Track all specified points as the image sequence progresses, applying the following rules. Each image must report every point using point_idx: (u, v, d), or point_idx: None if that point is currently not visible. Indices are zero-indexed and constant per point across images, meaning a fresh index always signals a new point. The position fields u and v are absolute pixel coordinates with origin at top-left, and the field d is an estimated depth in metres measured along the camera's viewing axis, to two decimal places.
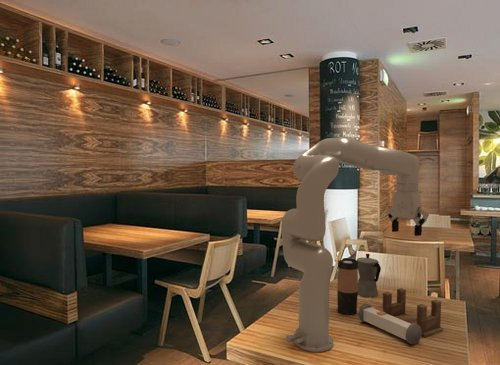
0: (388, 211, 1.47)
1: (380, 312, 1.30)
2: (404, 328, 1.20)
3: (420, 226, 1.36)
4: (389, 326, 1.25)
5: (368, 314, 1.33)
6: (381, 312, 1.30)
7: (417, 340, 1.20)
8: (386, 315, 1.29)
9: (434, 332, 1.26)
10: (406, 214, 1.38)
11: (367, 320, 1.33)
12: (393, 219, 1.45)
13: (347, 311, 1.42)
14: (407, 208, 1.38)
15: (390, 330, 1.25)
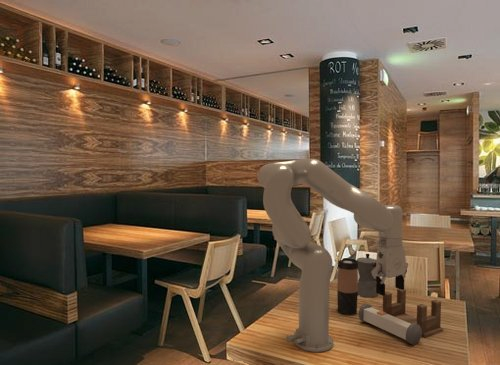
0: (376, 273, 1.23)
1: (380, 312, 1.30)
2: (404, 328, 1.20)
3: None
4: (389, 326, 1.25)
5: (368, 314, 1.33)
6: (381, 312, 1.30)
7: (417, 340, 1.20)
8: (386, 315, 1.29)
9: (434, 332, 1.26)
10: (401, 270, 1.26)
11: (367, 320, 1.33)
12: None
13: (347, 311, 1.42)
14: (401, 263, 1.26)
15: (390, 330, 1.25)
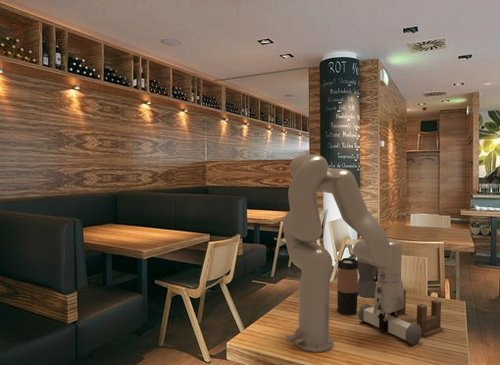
0: (378, 313, 1.24)
1: None
2: (404, 328, 1.20)
3: None
4: (389, 326, 1.25)
5: (368, 314, 1.33)
6: None
7: (417, 340, 1.20)
8: None
9: (434, 332, 1.26)
10: (399, 305, 1.26)
11: (367, 320, 1.33)
12: (386, 317, 1.25)
13: (347, 311, 1.42)
14: (400, 298, 1.26)
15: (390, 330, 1.25)
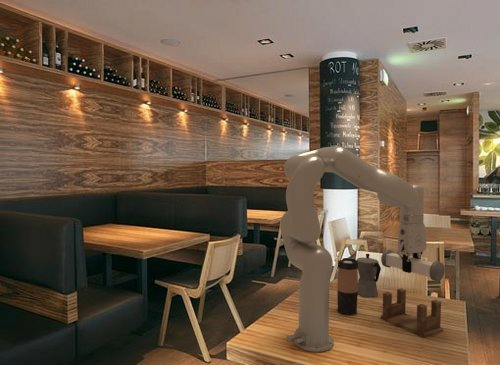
0: (401, 253, 1.29)
1: None
2: (428, 266, 1.25)
3: None
4: (412, 266, 1.30)
5: (390, 258, 1.38)
6: None
7: (440, 277, 1.24)
8: None
9: (434, 332, 1.26)
10: (422, 247, 1.31)
11: (390, 264, 1.38)
12: (409, 258, 1.30)
13: (347, 311, 1.42)
14: (422, 240, 1.31)
15: (413, 270, 1.30)
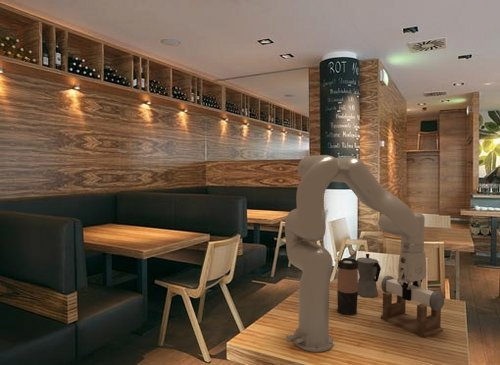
0: (402, 281, 1.30)
1: None
2: (428, 295, 1.26)
3: None
4: (412, 294, 1.31)
5: (391, 285, 1.38)
6: None
7: (440, 306, 1.25)
8: None
9: (434, 332, 1.26)
10: (422, 275, 1.32)
11: (390, 290, 1.39)
12: None
13: (347, 311, 1.42)
14: (422, 268, 1.32)
15: (413, 298, 1.30)
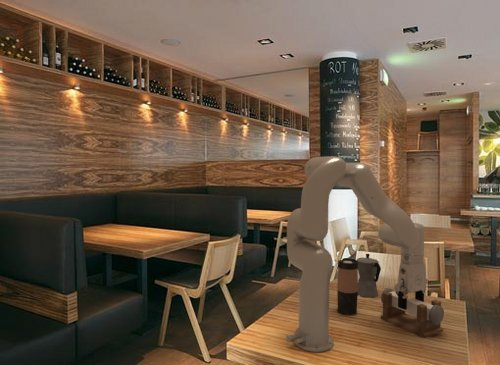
0: (398, 288, 1.29)
1: None
2: (427, 309, 1.26)
3: None
4: (412, 308, 1.31)
5: None
6: None
7: (440, 320, 1.25)
8: (408, 298, 1.35)
9: (434, 332, 1.26)
10: (422, 285, 1.32)
11: None
12: (406, 295, 1.30)
13: (347, 311, 1.42)
14: (422, 279, 1.32)
15: (413, 312, 1.31)
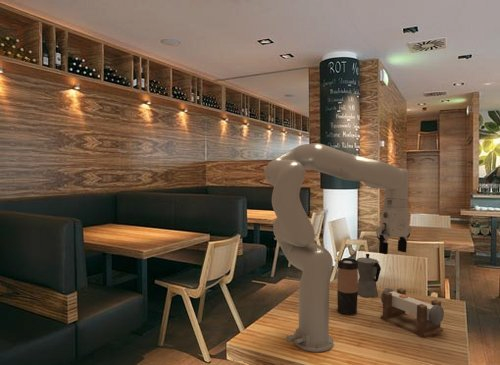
0: (380, 232, 1.26)
1: (402, 295, 1.36)
2: (427, 309, 1.26)
3: None
4: (412, 308, 1.31)
5: None
6: (403, 295, 1.36)
7: (440, 320, 1.25)
8: (408, 298, 1.35)
9: (434, 332, 1.26)
10: (404, 231, 1.29)
11: None
12: (387, 240, 1.27)
13: (347, 311, 1.42)
14: (405, 225, 1.29)
15: (413, 312, 1.31)
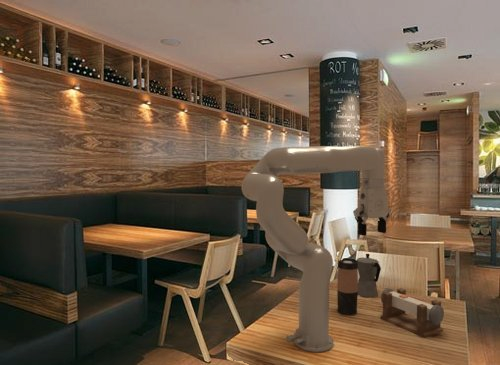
0: (357, 213, 1.24)
1: (402, 295, 1.36)
2: (427, 309, 1.26)
3: None
4: (412, 308, 1.31)
5: None
6: (403, 295, 1.36)
7: (440, 320, 1.25)
8: (408, 298, 1.35)
9: (434, 332, 1.26)
10: (383, 212, 1.27)
11: None
12: (365, 221, 1.25)
13: (347, 311, 1.42)
14: (383, 205, 1.27)
15: (413, 312, 1.31)
